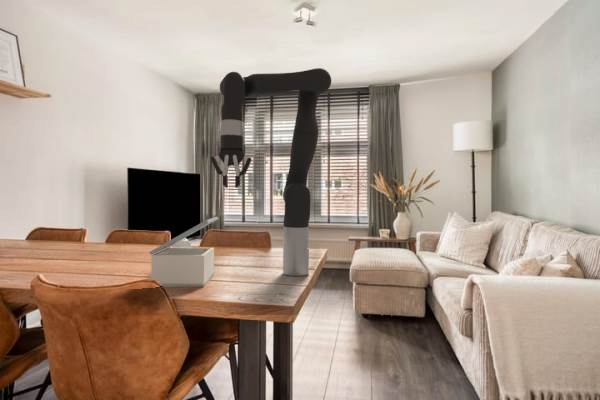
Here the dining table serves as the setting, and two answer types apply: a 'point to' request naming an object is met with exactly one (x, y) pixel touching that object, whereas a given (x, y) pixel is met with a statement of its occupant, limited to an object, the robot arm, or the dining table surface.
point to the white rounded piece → (182, 244)
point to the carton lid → (184, 235)
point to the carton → (183, 267)
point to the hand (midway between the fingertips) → (231, 187)
